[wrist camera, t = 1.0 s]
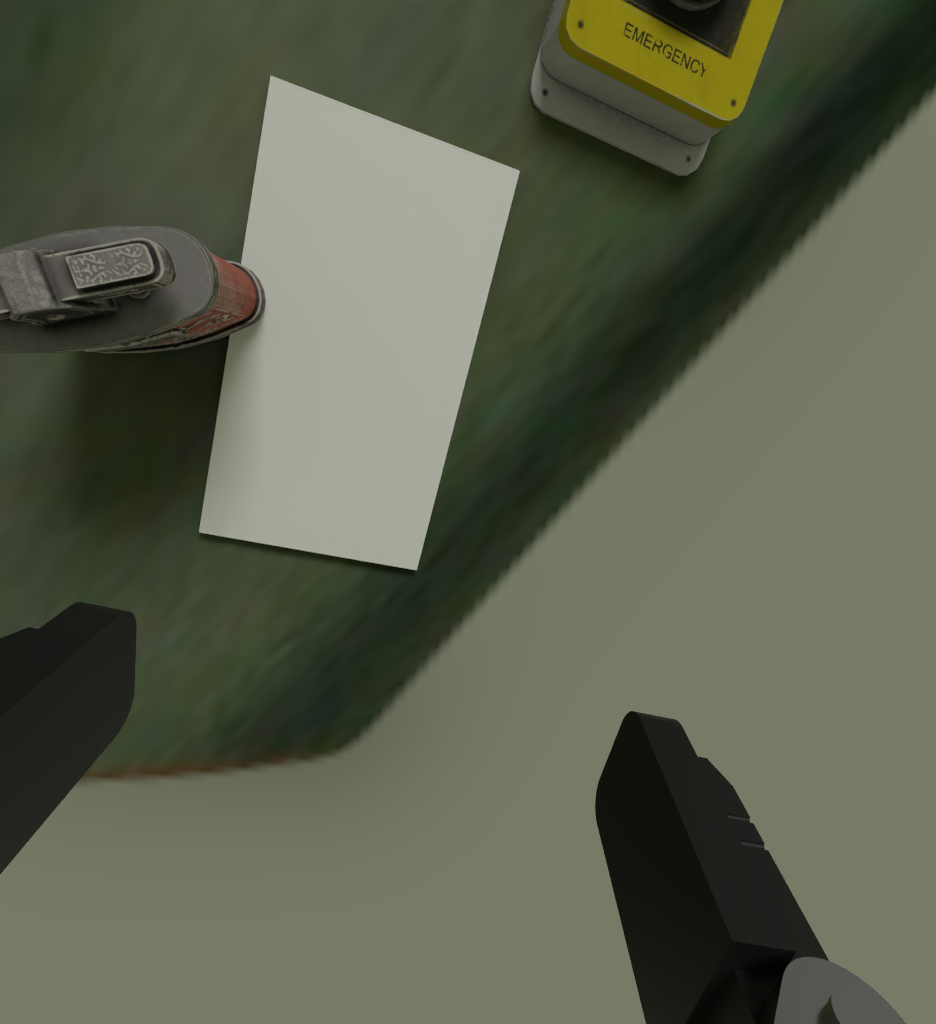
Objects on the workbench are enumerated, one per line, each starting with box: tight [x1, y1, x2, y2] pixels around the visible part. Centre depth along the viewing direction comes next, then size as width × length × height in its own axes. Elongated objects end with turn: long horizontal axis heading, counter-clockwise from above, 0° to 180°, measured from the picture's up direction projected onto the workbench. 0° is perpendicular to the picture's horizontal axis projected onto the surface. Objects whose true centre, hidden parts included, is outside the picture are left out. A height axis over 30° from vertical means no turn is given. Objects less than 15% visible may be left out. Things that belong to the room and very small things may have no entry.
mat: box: [199, 76, 520, 570], centre depth 27 cm, size 11×20×1 cm, turn 165°
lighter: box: [0, 226, 266, 353], centre depth 20 cm, size 8×3×10 cm, turn 102°
